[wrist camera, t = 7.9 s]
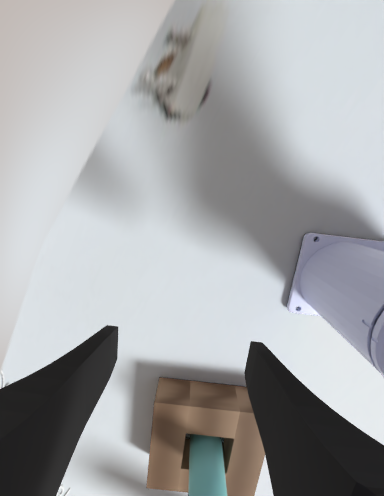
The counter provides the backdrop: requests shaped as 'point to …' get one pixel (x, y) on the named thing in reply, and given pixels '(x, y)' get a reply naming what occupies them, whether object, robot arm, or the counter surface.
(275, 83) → the counter surface
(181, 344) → the counter surface
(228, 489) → the socket block
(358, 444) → the robot arm
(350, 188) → the counter surface
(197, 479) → the peg
